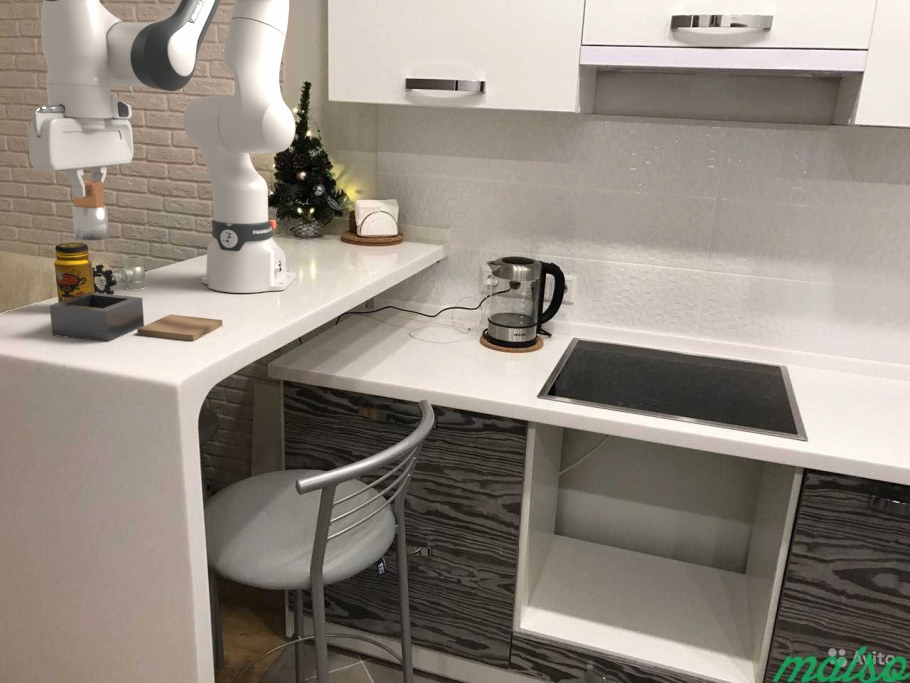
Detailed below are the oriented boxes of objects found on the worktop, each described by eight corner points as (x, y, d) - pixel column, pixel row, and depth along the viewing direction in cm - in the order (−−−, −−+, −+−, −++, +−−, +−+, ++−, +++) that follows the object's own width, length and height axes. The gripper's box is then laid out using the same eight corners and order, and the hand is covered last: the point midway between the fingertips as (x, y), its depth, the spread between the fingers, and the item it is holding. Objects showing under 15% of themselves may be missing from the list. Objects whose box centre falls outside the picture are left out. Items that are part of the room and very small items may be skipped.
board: (170, 319, 135) (170, 314, 134) (222, 325, 133) (222, 320, 133) (137, 334, 125) (137, 328, 125) (193, 341, 124) (193, 335, 123)
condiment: (58, 315, 133) (51, 248, 130) (53, 304, 140) (47, 240, 137) (103, 312, 137) (97, 247, 134) (96, 301, 144) (91, 239, 141)
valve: (128, 284, 158) (86, 296, 147) (126, 253, 156) (83, 263, 145) (155, 288, 157) (114, 300, 146) (153, 257, 155) (112, 267, 144)
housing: (91, 319, 132) (89, 292, 130) (144, 325, 130) (142, 297, 129) (52, 335, 122) (49, 305, 121) (108, 341, 121) (105, 311, 119)
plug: (88, 234, 125) (83, 178, 122) (115, 236, 124) (111, 181, 121) (68, 238, 120) (62, 181, 117) (96, 241, 119) (91, 183, 117)
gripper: (51, 105, 106) (61, 204, 110) (137, 107, 125) (143, 191, 129) (12, 103, 107) (23, 201, 111) (103, 105, 126) (110, 189, 130)
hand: (88, 196), depth 120 cm, fingers closed on plug
